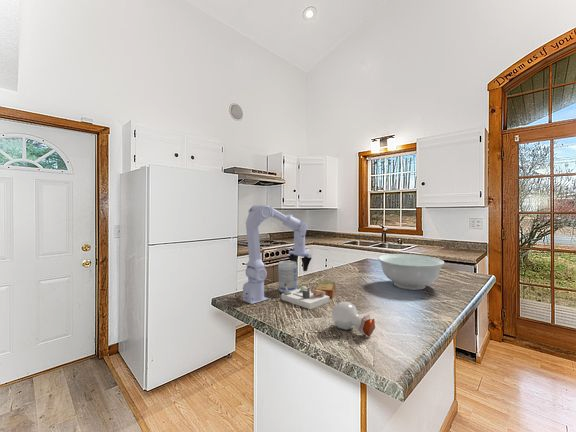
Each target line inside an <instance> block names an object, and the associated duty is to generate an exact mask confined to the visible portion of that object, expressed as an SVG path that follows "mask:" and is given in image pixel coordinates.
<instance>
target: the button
mask: <svg viewBox="0 0 576 432" xmlns="http://www.w3.org/2000/svg"><path fill="white" fill-rule="evenodd" d="M299 287H300V288H299V289H300V291H301V292H303V290H307V286H305V285H301V286H299Z"/></svg>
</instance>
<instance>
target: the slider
mask: <svg viewBox="0 0 576 432" xmlns="http://www.w3.org/2000/svg"><path fill="white" fill-rule="evenodd" d="M310 291H311V290H308V289H306V290H303V298H309V297H310Z"/></svg>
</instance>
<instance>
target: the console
mask: <svg viewBox="0 0 576 432" xmlns="http://www.w3.org/2000/svg"><path fill="white" fill-rule="evenodd" d="M281 300H283V301H285V302H288V303H291V304H293V305H296V306H300V307H302V308H305V309H308V310H311V309H314V308H318V307H320V306H323V305H326V304H328V303H331V302H330V300H331V298H330V296H326V295H324V293H321V295H319V294H314V293H311V290H310V297H309V298H303V292H301V291H300V288H297V290H294V291H290V292H284V293H283V292H282V293H281Z"/></svg>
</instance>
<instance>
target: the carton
mask: <svg viewBox="0 0 576 432" xmlns="http://www.w3.org/2000/svg"><path fill="white" fill-rule="evenodd" d="M315 290H321V291H325V292H326V294H325V295H326V296H330V299H333V298H334V296H335V295H334V294H335V291H336V282H335V281H329V280H328V281H327V280H326V281H325V280H323V281H321V280H320V281H319V282H318V283H317V286H316V288H315Z"/></svg>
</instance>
